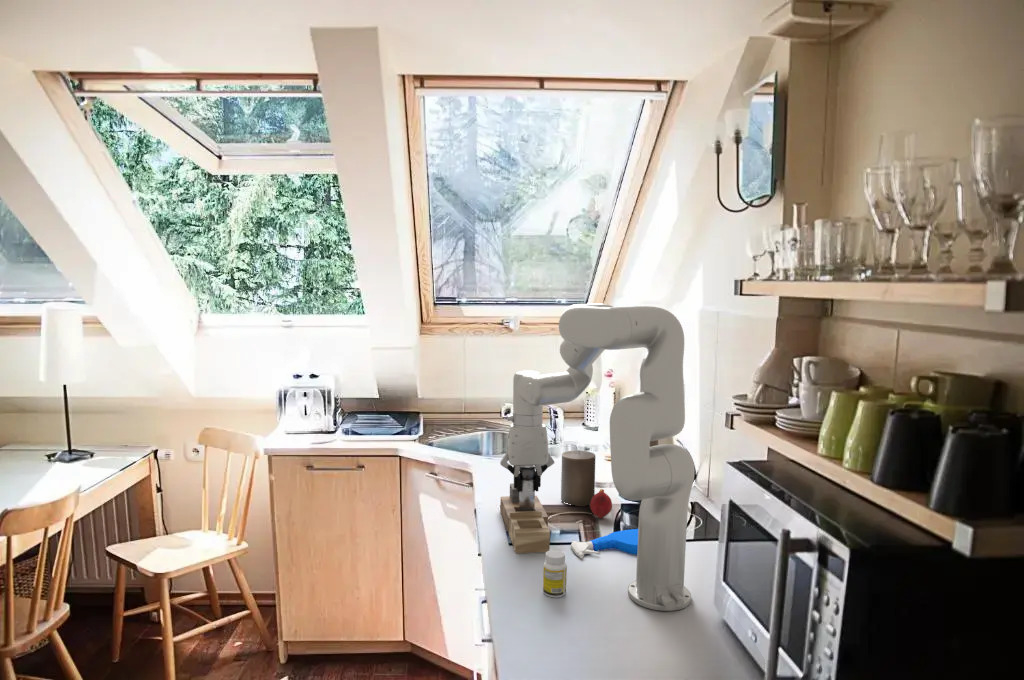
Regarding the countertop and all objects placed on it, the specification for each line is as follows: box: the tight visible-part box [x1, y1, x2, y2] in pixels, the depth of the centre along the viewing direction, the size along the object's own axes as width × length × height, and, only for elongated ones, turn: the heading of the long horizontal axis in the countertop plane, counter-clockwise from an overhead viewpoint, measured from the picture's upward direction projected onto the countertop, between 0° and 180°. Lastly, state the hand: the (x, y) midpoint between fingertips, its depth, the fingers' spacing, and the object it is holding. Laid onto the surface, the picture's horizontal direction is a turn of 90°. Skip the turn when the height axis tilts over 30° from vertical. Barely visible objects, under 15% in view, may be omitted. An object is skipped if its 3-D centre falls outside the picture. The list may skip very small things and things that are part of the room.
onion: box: [589, 488, 613, 519], centre depth 184 cm, size 6×6×8 cm
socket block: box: [499, 483, 549, 534], centre depth 181 cm, size 16×10×8 cm, turn 8°
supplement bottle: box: [542, 549, 568, 599], centre depth 142 cm, size 5×5×8 cm
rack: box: [508, 511, 551, 554], centre depth 167 cm, size 11×8×6 cm
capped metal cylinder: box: [519, 465, 536, 511], centre depth 177 cm, size 4×4×12 cm
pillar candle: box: [560, 449, 596, 507], centre depth 197 cm, size 10×10×15 cm
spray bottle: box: [570, 528, 638, 559], centre depth 166 cm, size 3×11×24 cm
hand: (527, 489), depth 177 cm, fingers closed on capped metal cylinder, 4 cm apart
